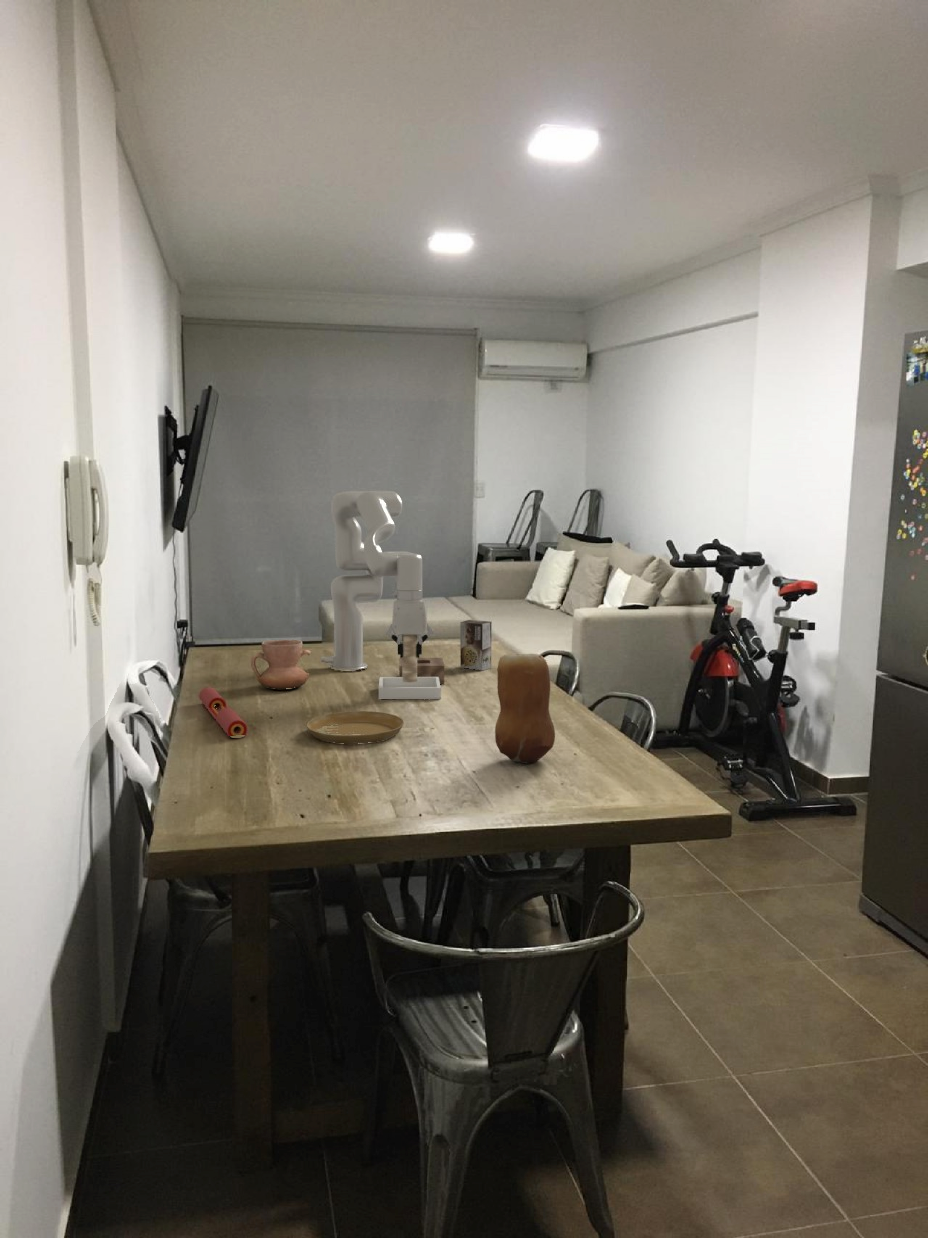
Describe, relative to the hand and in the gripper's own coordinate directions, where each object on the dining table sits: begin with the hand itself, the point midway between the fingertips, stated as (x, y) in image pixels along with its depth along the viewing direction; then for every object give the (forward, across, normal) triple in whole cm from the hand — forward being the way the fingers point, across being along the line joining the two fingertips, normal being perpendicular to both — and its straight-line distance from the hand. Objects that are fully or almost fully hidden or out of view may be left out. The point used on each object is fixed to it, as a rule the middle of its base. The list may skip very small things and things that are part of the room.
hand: (409, 656), depth 287 cm
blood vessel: (+12, -50, -30) cm, 59 cm away
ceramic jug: (+11, -39, +10) cm, 42 cm away
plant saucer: (+12, -14, -46) cm, 49 cm away
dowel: (+7, 0, 0) cm, 7 cm away
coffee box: (+11, +23, +40) cm, 48 cm away
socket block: (+11, +4, +20) cm, 23 cm away
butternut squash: (+12, +25, -72) cm, 77 cm away
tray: (+11, 0, 0) cm, 11 cm away
